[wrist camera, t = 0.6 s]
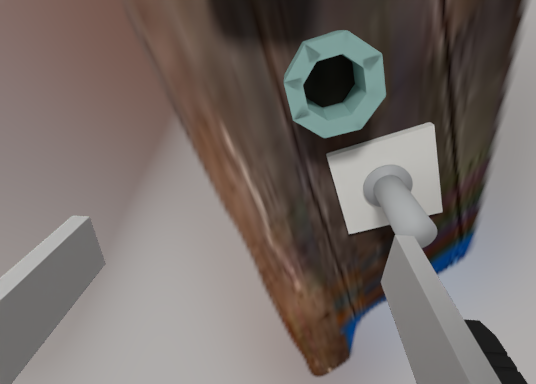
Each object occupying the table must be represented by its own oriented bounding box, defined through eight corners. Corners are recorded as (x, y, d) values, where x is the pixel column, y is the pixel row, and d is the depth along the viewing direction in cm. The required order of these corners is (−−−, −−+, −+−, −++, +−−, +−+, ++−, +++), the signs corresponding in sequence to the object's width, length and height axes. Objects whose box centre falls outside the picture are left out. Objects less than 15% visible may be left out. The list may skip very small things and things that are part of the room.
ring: (316, 15, 26) (321, 13, 22) (387, 63, 28) (405, 69, 23) (272, 95, 30) (270, 107, 25) (337, 133, 31) (345, 150, 27)
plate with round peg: (325, 153, 32) (339, 199, 24) (429, 122, 30) (487, 159, 21) (347, 229, 37) (365, 290, 29) (438, 207, 35) (488, 266, 26)
